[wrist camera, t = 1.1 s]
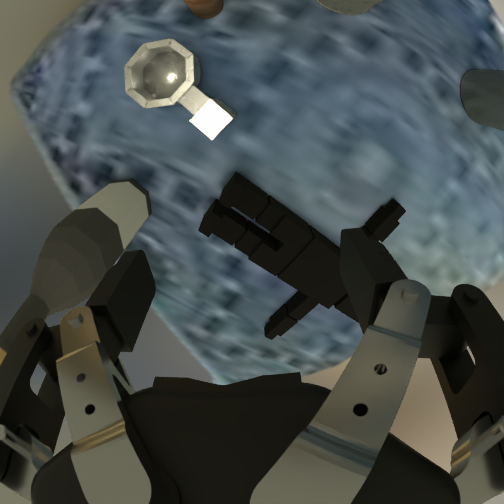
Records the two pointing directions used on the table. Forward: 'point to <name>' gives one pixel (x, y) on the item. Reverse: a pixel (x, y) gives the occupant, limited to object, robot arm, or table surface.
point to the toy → (289, 248)
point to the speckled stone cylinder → (348, 6)
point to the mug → (174, 84)
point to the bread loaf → (205, 7)
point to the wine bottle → (81, 253)
